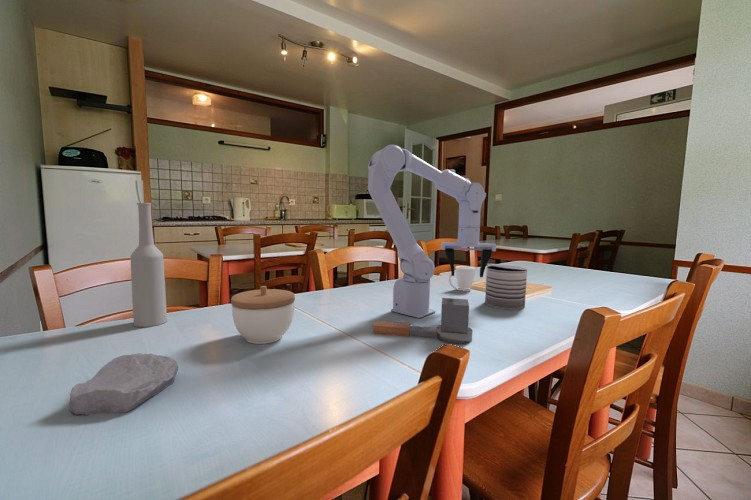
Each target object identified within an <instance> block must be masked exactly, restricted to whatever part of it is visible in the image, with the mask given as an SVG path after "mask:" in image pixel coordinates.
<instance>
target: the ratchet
mask: <svg viewBox="0 0 751 500" xmlns="http://www.w3.org/2000/svg"><path fill="white" fill-rule="evenodd" d="M372 334H373V335H374V334H375V335H385V336H395V337H396V336H397V337H407V338H408V337H415V338H426V339H437V340H438V341H440V342H442V343H445V344H451V345H468V344H469V343H471V342H472V341H473V329H472V328H471V327H470V326H468V334H458V333H446V332H441V324H438V325H436V327H430V326H417V325H411V323H407V322H405V323H404V322H392V321H391V322H390V321H381V320H380V321H379V320H376V321H375V322H374V323H373V325H372Z"/></svg>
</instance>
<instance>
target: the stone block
mask: <svg viewBox="0 0 751 500" xmlns="http://www.w3.org/2000/svg"><path fill="white" fill-rule="evenodd" d="M178 371H179V365H178V361H177V360H175V358H172V357H170V356H166V355H164V356H163V355H157V354H154V353H131V354H123V355H120V356H117V357H115V358H112V359H111V360H110V361H108V362H107V363H106V364H105V365H103V366H102V367H101V368H100V369H99V370H98V371H97V372H96V374H95V375H94V376H93V377H91V378H90V379H87V380H86V381H84V382H78V383H77V384H75V385H74V386H72V388H71V390H70V392H69V402H68V407H69V409H70V411H71V413H73V414H74V415H75V416H80V415H87V416H89V415H95V414H96V415H97V414H103V413H111V414H121V413H122V414H123V413H124V414H125V413H128V412H131V411H132V410H134V409H135V408H136V407H138V406H139V405H142V404H143V403H144V402H147V400H148V399H150V398H153V397H154V396H155V395H158V394H160V393H161V391H163V390H165V389H166V388H167V387H169V386H171V385H172V384H174V382H175V378H176V375H177V373H178Z"/></svg>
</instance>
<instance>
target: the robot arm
mask: <svg viewBox="0 0 751 500" xmlns="http://www.w3.org/2000/svg"><path fill="white" fill-rule="evenodd" d="M367 170H368V175H367V176H368V179H367V191H368V193H369V195H370V197H371V199H372V201H373V203H374V205H375V207H376V209H377V211H378V213H379V215H380V217H381V219H382V221H383V223H384V226H385V227H386V229H387V230H388V233H389V235H390V237H391V238H392V241H393V243H394V245H395V247H396V249H397V257H398V259H399V268H400V270H401V272H402V273H403V275H402V277H400V278H397V279H396V281H395V282H394V285H393V292H392V294H393V295H392V308H391V309H390V311H391V312H394V313H397V314H401V315H406V316H410V317H413V318H418V319H421V318H424V317H426V316H429V315H431V314H434V313H436V310H435V309H433V308H432V309H430V298H431V297H430V295H431V293H430V291H431V279H432V277H433V276H434V274H435V270H436V267H435V263H434V262H433V260H432V259H431V258H429V257H428V256H427V254H426V253H425V251H424V249H422V247H421V246H420V245H419V244H418V243H417V240H416V238H415V237H414V234H413V233H412V231H411V229H410V227H409V224H408V222H407V221H406V218H405V216H404V214H403V212H402V210H401V208H400V206H399V204H398V202H397V200H396V198H395V195H394V194H393V192H392V190H391V187H392V185H393V182H394V179H395V177H396V175H397V174H398V173H399V172H400V173H401V172H411V173H412V174H415V175H417V176H420V177H421V178H424V179H427V181H430V182H433V183H434V185H435V188H436V189H437V190H438V191H440V192H442V193H443V194H446V195H448V196H450V197H452V198H454V199H455V200H456V202H457V203H458V205H459V206H458V226H457V231H458V232H457V241H454V242H453V241H452V242H451V241H450V242H449V241H447V242H446V241H444V242H443V241H442V242H441V250H443V251H444V250H445V251H444V253H445V255H446V258H447V260H448V263H449V266H450V273H452V276H451V277H454V276H455V272H454V270H455V250H456V251H458V250H459V251H480V268H479V277H480V278H483V277H484V274H485V269H486V268H487V264H489V263H488V262H489V261H490V259H491V257H492V255H493V252H496V251H497V244H496V243H485V242H480V229H481V209H482V205H483V202H484V201H485V199H486V197H487V193H486V192H485V189H484V187H483V185H482V184H481V183H479V182H471V181H470V178H469V177H463V176H461V175H459V174H457V173H456V170H455V169H453V168H451V169H448V168H447V169H443V170H440V169H438V168H437V167H435V166H433V165H431V164H430V163H427V161H425V160H423V159H421V158H420V157H417V155H415V154H413V153H411V152H410V151H409V150H408V149H405V148H402V147H400V146H399V145H397V144H387V145H386V146H384V147H383V148H382V149H380V150H377V151H375V152H374V153H373V154H372V156H371V158H370V160H369V162H368V164H367Z"/></svg>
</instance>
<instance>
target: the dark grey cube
mask: <svg viewBox="0 0 751 500" xmlns="http://www.w3.org/2000/svg"><path fill="white" fill-rule="evenodd" d="M440 314H441V316H440V318H441V319H440V325H441V332H446V333H458V334H468V327H469V315H470V303H469V299H467V298H465V299H464V298H454V297H453V298H452V297H451V298H450V297H441V313H440Z"/></svg>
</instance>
